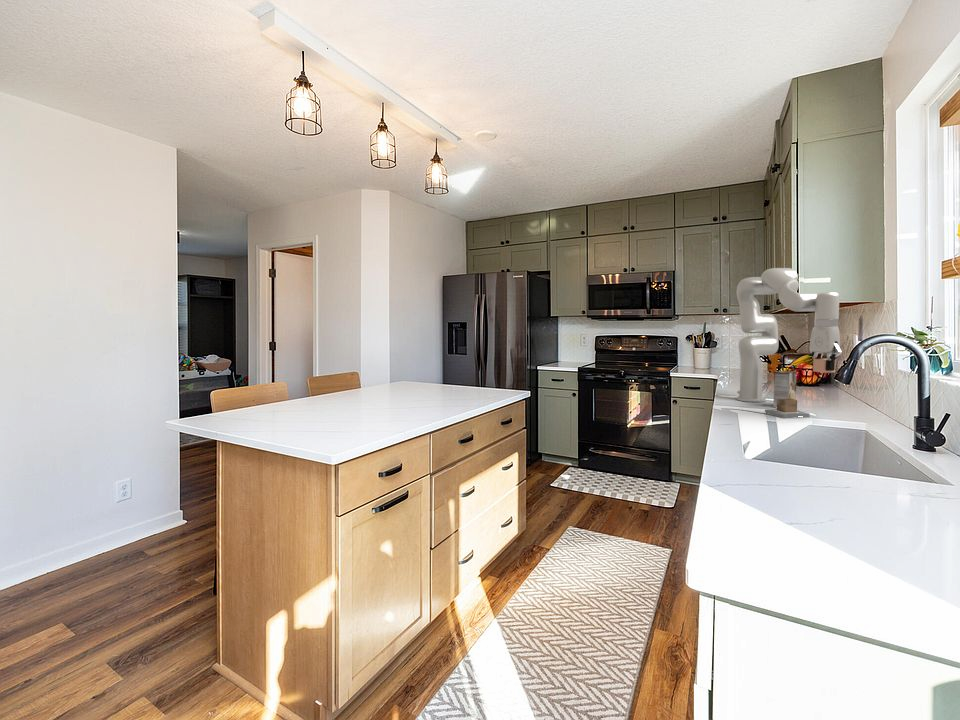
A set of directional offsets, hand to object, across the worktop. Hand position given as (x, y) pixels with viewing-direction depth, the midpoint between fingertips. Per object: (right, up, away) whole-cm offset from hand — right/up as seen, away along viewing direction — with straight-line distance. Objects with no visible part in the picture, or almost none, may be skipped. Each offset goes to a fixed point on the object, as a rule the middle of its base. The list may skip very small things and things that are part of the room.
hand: (824, 369), depth 183 cm
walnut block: (-10, -18, +7) cm, 21 cm away
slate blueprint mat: (-10, -19, +7) cm, 23 cm away
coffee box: (+1, -18, +25) cm, 31 cm away
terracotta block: (0, -1, 0) cm, 1 cm away
